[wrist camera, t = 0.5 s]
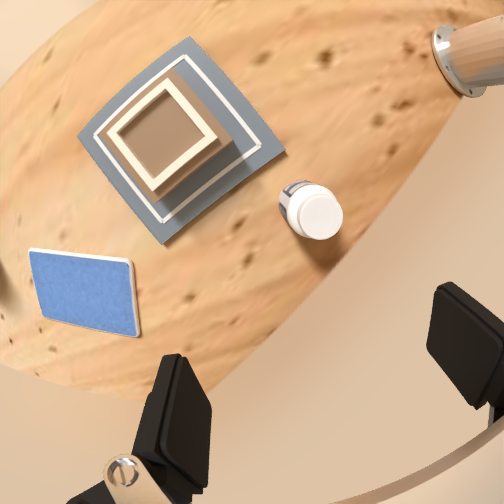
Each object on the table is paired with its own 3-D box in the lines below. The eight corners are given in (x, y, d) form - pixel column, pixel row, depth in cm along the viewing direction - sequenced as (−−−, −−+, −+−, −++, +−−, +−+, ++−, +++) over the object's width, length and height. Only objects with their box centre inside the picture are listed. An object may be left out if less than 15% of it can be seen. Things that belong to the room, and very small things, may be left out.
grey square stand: (190, 38, 24) (181, 18, 19) (284, 149, 29) (294, 148, 24) (79, 136, 27) (55, 135, 22) (163, 242, 32) (149, 259, 27)
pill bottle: (313, 228, 33) (337, 254, 24) (272, 216, 32) (284, 239, 23) (327, 187, 31) (357, 199, 23) (285, 173, 30) (303, 180, 22)
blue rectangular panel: (45, 314, 36) (41, 318, 35) (30, 245, 32) (25, 248, 31) (142, 334, 37) (139, 339, 36) (134, 256, 33) (131, 259, 32)
